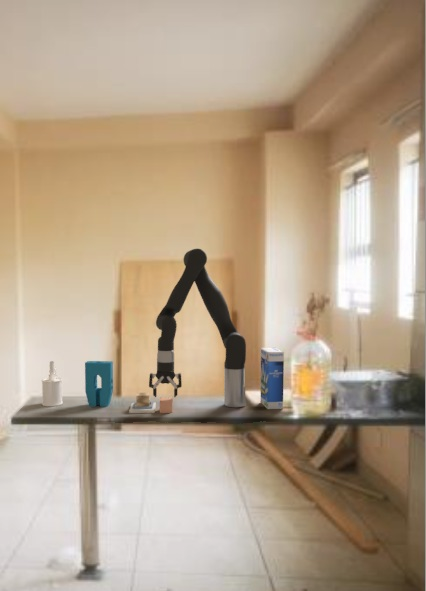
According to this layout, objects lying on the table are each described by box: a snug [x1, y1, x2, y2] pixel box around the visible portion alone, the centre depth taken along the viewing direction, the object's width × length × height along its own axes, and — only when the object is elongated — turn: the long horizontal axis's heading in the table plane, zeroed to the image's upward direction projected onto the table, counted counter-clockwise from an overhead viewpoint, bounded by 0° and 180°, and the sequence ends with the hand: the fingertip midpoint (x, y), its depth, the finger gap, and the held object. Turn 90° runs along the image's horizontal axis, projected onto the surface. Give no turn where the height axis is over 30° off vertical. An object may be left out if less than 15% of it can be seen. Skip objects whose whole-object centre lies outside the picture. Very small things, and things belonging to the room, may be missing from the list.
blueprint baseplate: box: [128, 401, 157, 414], centre depth 233 cm, size 11×13×2 cm
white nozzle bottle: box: [41, 360, 64, 408], centre depth 241 cm, size 10×9×20 cm
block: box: [84, 360, 114, 408], centre depth 239 cm, size 12×5×20 cm, turn 85°
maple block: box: [135, 392, 151, 407], centre depth 233 cm, size 6×6×6 cm
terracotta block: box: [159, 396, 174, 414], centre depth 229 cm, size 6×6×6 cm
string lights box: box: [260, 347, 285, 410], centre depth 238 cm, size 13×8×26 cm, turn 10°
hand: (165, 396), depth 229 cm, fingers open, 8 cm apart
